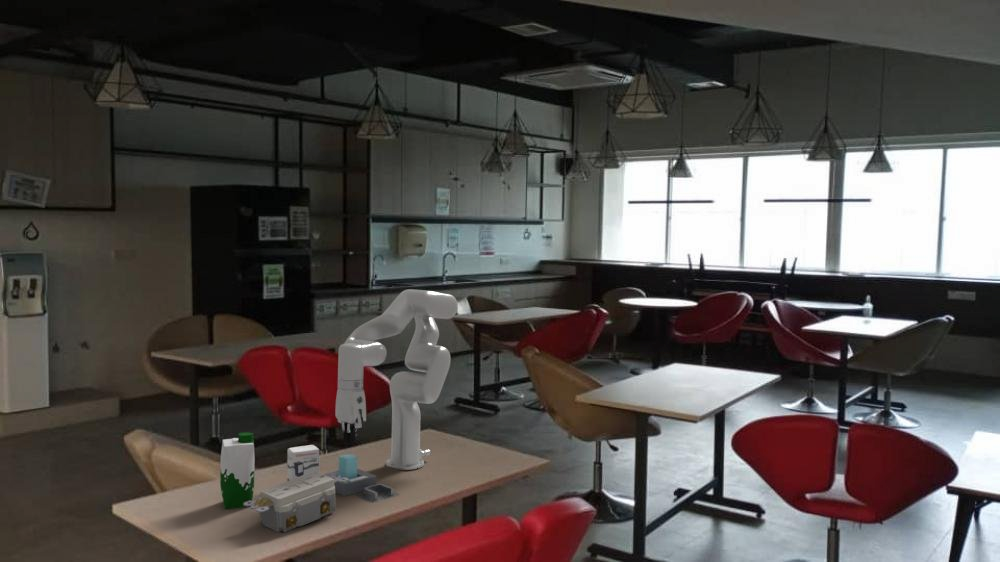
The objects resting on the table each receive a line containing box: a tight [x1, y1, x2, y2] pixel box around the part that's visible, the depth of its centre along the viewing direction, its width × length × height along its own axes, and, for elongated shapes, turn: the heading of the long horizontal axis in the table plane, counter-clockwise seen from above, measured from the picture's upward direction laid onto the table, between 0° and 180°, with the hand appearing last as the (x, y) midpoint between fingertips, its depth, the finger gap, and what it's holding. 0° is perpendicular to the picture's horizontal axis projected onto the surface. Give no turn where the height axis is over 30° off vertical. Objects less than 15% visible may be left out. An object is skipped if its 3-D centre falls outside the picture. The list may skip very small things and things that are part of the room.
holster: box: [356, 483, 401, 503], centre depth 224 cm, size 10×8×3 cm
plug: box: [338, 453, 359, 479], centre depth 231 cm, size 4×4×10 cm
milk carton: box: [219, 431, 255, 510], centre depth 215 cm, size 9×9×20 cm
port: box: [322, 468, 378, 497], centre depth 231 cm, size 12×12×4 cm
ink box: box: [286, 444, 320, 482], centre depth 232 cm, size 8×5×12 cm, turn 123°
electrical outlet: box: [243, 472, 349, 533], centre depth 205 cm, size 12×28×10 cm, turn 140°
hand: (349, 444), depth 230 cm, fingers closed
